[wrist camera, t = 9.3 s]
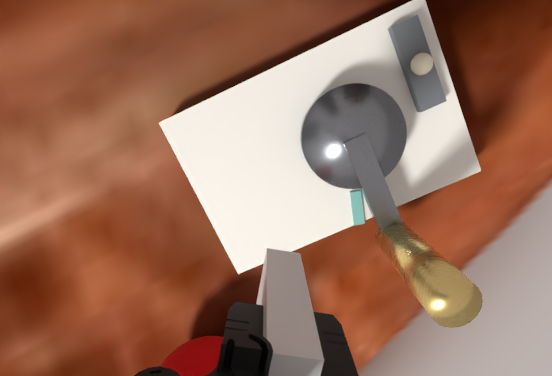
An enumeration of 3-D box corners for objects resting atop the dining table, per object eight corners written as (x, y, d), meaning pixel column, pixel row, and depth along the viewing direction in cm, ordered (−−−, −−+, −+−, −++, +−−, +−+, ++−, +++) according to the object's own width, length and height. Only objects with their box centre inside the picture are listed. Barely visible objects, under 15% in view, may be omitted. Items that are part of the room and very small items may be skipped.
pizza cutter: (283, 111, 24) (289, 113, 14) (377, 67, 23) (446, 38, 14) (353, 264, 27) (396, 351, 17) (438, 228, 26) (533, 297, 16)
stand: (167, 121, 27) (149, 123, 23) (411, 4, 25) (436, -15, 21) (241, 264, 29) (236, 287, 26) (467, 168, 27) (497, 177, 24)
